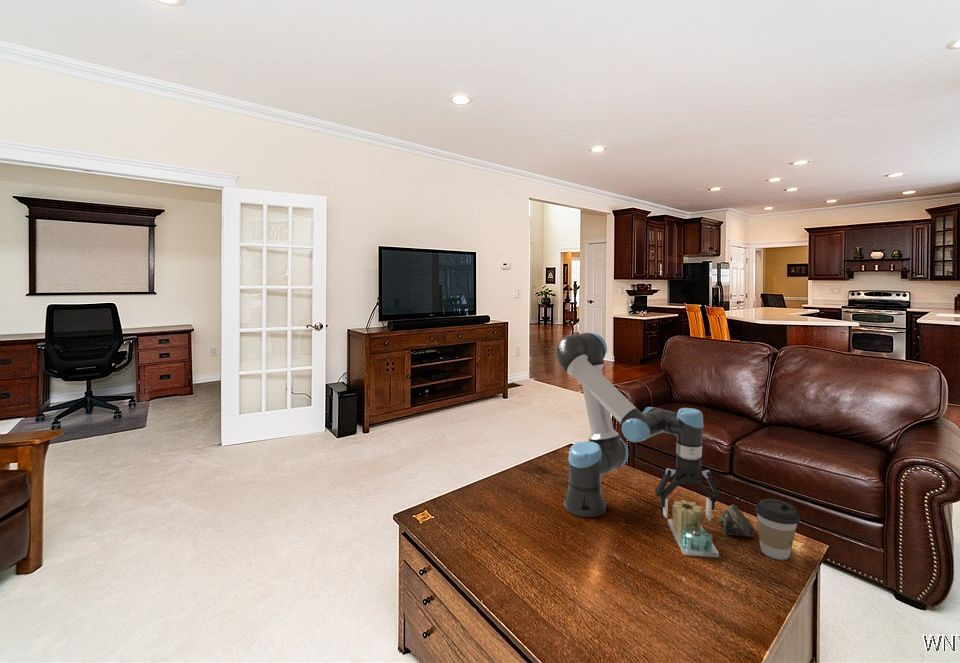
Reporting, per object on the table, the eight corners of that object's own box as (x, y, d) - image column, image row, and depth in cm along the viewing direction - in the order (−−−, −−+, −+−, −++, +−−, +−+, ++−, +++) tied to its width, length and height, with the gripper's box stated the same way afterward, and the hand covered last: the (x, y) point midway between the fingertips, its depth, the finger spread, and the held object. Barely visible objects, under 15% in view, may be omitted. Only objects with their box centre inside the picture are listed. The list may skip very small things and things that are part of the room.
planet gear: (666, 525, 146) (667, 505, 145) (681, 516, 151) (681, 497, 150) (692, 537, 139) (693, 516, 138) (706, 527, 144) (707, 507, 143)
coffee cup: (799, 569, 125) (802, 519, 123) (753, 556, 131) (755, 509, 129) (796, 548, 134) (799, 502, 133) (752, 537, 140) (755, 493, 139)
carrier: (683, 555, 132) (684, 535, 131) (667, 523, 150) (667, 505, 149) (718, 557, 131) (719, 537, 130) (698, 525, 148) (698, 507, 148)
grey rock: (762, 542, 137) (747, 514, 137) (733, 551, 140) (718, 524, 140) (750, 522, 147) (736, 497, 147) (723, 531, 150) (709, 506, 150)
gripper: (651, 458, 141) (650, 520, 143) (734, 462, 137) (731, 525, 139) (646, 449, 148) (645, 508, 150) (724, 453, 144) (722, 513, 146)
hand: (686, 517), depth 145 cm, fingers open, 13 cm apart
